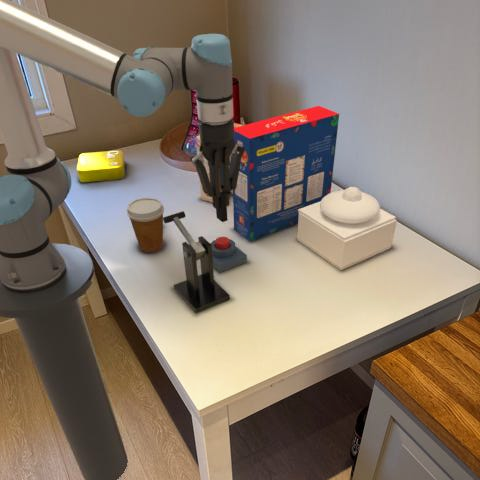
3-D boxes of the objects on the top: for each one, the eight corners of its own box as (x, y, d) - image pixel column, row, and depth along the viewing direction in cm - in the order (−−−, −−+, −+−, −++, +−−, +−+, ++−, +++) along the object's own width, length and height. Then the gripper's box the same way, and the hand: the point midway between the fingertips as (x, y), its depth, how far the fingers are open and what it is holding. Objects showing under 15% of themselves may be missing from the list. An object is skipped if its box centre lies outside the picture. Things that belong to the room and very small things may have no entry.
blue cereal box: (310, 201, 147) (318, 105, 129) (328, 211, 142) (339, 113, 124) (234, 229, 136) (230, 128, 117) (250, 241, 131) (249, 138, 112)
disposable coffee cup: (176, 243, 131) (171, 202, 123) (152, 259, 125) (145, 218, 117) (150, 233, 135) (143, 193, 127) (126, 249, 129) (117, 208, 122)
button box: (200, 254, 127) (199, 241, 124) (226, 244, 130) (225, 231, 127) (219, 272, 120) (219, 259, 118) (246, 262, 123) (246, 249, 121)
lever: (162, 222, 111) (163, 214, 109) (182, 215, 113) (182, 208, 111) (190, 262, 106) (190, 255, 104) (210, 255, 108) (211, 248, 106)
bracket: (173, 288, 116) (166, 238, 107) (206, 276, 119) (202, 227, 110) (195, 313, 109) (190, 262, 100) (230, 299, 112) (227, 248, 103)
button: (213, 245, 123) (212, 239, 122) (225, 241, 125) (224, 235, 123) (220, 251, 121) (219, 245, 120) (232, 247, 122) (232, 241, 121)
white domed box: (341, 270, 120) (349, 212, 109) (295, 239, 131) (299, 184, 121) (391, 248, 127) (403, 191, 117) (344, 220, 138) (351, 166, 128)
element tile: (81, 165, 171) (78, 151, 168) (124, 161, 173) (122, 147, 170) (79, 183, 160) (75, 169, 157) (125, 179, 162) (122, 165, 159)
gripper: (197, 131, 97) (206, 233, 113) (251, 117, 102) (252, 217, 118) (180, 121, 102) (191, 220, 118) (232, 108, 107) (236, 205, 123)
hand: (222, 218), depth 118 cm, fingers closed
